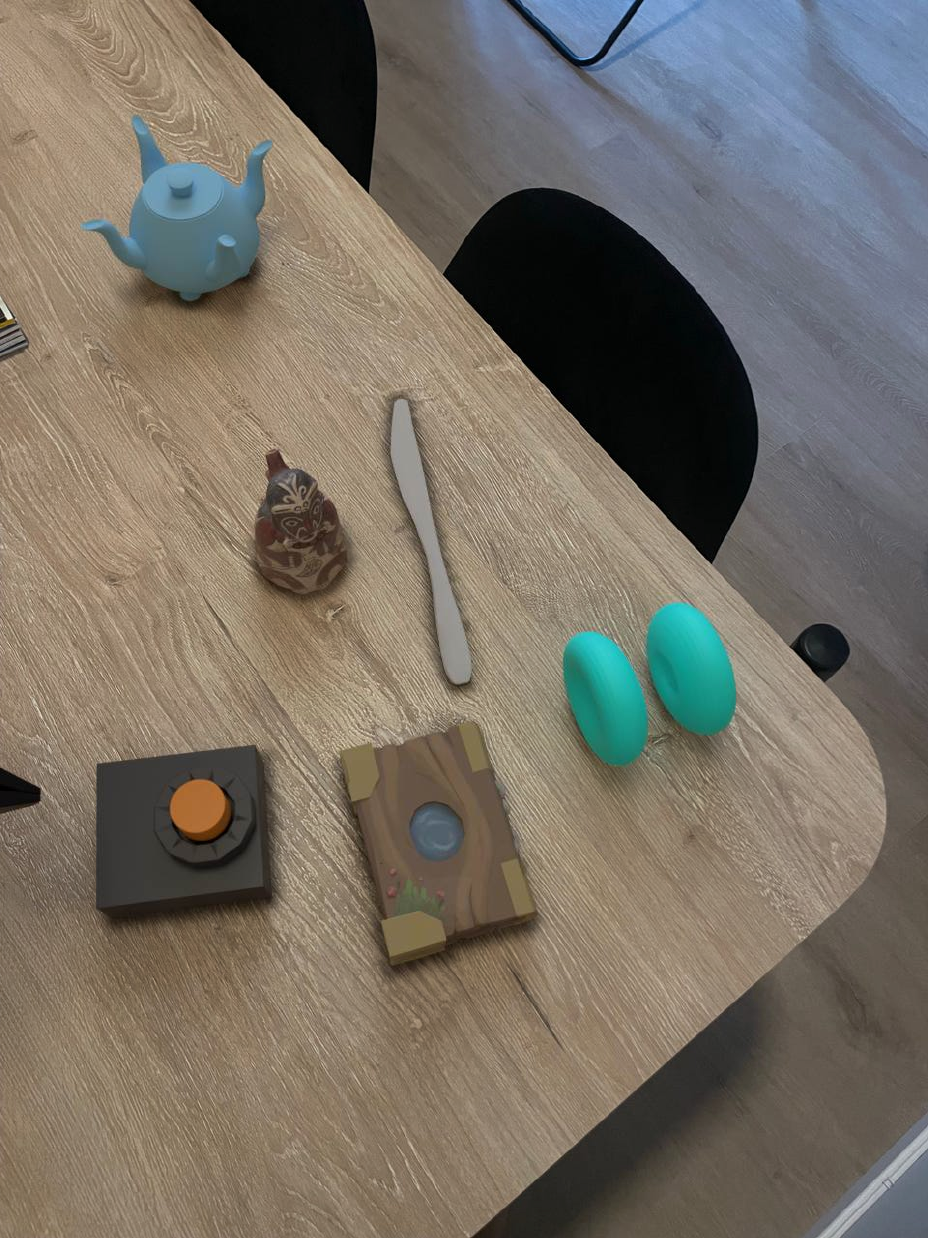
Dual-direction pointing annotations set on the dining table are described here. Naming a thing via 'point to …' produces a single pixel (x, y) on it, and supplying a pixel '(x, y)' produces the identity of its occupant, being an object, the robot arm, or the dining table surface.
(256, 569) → the dining table surface
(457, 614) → the butter knife
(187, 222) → the teapot
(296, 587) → the figurine
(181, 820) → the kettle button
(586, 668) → the donuts
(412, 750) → the book
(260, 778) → the black button base
